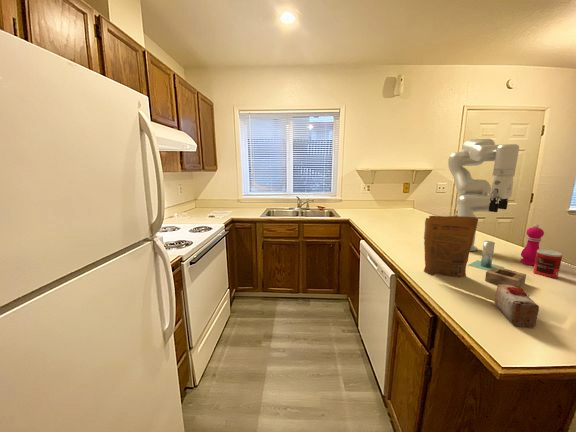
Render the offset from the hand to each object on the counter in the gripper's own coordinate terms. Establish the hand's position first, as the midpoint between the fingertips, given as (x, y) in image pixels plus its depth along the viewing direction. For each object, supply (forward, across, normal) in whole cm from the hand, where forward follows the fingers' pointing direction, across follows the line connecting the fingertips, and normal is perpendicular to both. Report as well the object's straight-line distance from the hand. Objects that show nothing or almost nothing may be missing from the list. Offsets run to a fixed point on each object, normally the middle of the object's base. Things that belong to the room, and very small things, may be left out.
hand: (497, 210), depth 114 cm
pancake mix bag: (+28, -28, +6) cm, 40 cm away
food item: (+27, -40, -22) cm, 53 cm away
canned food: (+28, +8, -18) cm, 34 cm away
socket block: (+27, -16, -12) cm, 34 cm away
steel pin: (+27, -4, 0) cm, 27 cm away
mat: (+28, -4, 0) cm, 28 cm away
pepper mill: (+28, +19, -10) cm, 36 cm away
